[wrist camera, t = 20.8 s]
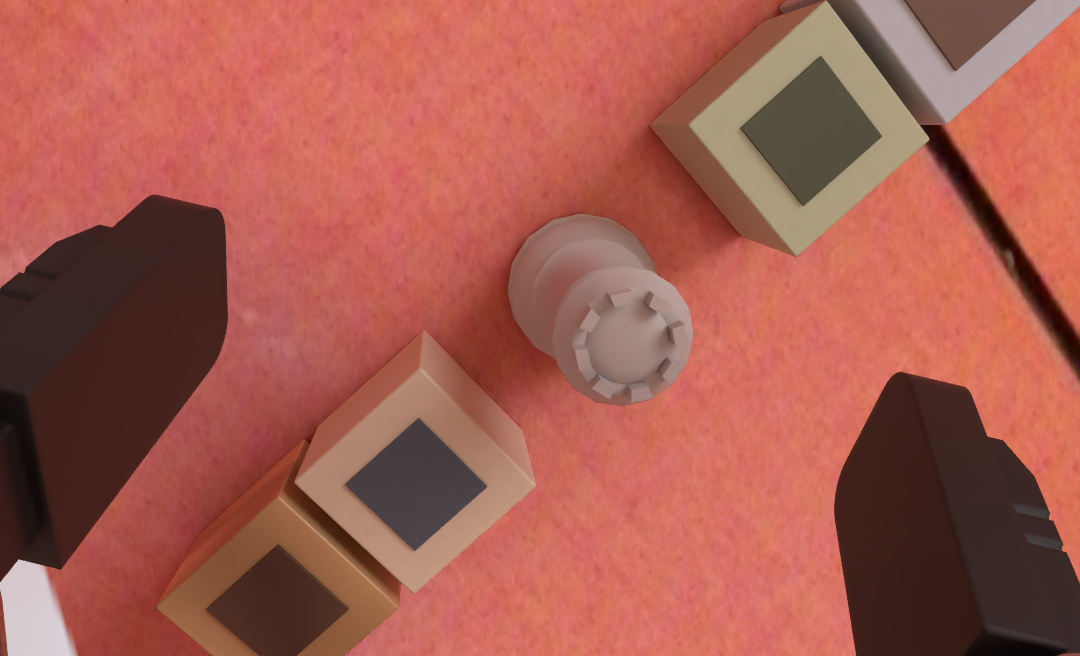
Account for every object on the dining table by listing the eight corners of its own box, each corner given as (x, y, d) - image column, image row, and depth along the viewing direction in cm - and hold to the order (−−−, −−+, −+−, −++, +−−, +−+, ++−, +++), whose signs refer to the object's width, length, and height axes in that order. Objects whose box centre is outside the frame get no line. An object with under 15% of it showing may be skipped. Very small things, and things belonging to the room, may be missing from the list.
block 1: (304, 626, 29) (278, 716, 25) (199, 533, 28) (152, 610, 24) (406, 535, 29) (399, 610, 24) (304, 437, 28) (277, 496, 23)
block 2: (418, 524, 29) (413, 597, 24) (316, 426, 28) (291, 484, 23) (524, 431, 28) (538, 487, 24) (424, 328, 27) (420, 367, 23)
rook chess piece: (652, 210, 27) (734, 242, 20) (651, 353, 28) (728, 439, 21) (504, 213, 27) (528, 248, 19) (507, 359, 28) (531, 449, 20)
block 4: (866, 126, 27) (948, 126, 23) (777, 8, 26) (844, -17, 22) (982, 23, 27) (1088, 3, 23) (896, -101, 26) (988, -148, 22)
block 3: (741, 237, 28) (798, 258, 23) (647, 125, 27) (688, 124, 22) (854, 137, 28) (933, 139, 23) (764, 19, 27) (828, -2, 22)
